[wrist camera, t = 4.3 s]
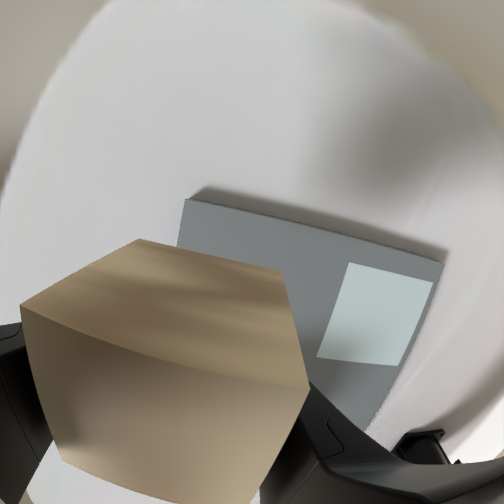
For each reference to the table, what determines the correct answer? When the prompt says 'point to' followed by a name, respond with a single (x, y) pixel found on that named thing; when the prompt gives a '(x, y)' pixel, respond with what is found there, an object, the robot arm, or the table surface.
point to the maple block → (168, 371)
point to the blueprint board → (329, 296)
